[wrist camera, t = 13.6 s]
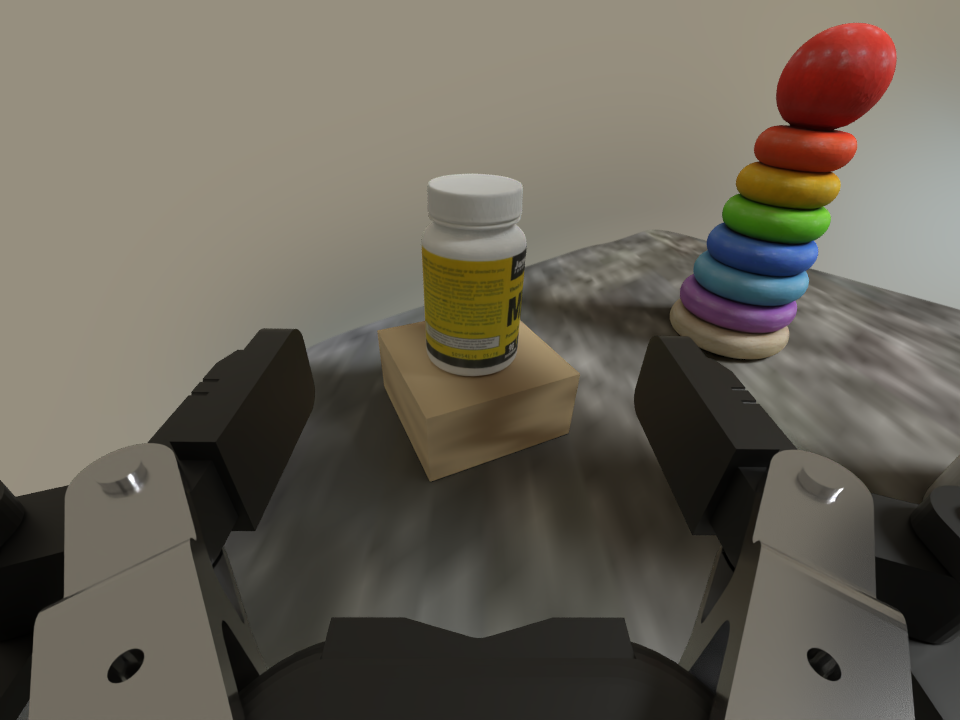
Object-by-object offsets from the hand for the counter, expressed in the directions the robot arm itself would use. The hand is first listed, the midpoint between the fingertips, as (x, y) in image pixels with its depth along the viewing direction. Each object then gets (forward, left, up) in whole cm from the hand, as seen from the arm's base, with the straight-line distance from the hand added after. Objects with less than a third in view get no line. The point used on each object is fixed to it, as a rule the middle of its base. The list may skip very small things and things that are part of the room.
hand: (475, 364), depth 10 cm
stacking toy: (-25, -10, -11) cm, 29 cm away
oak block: (-4, -10, -11) cm, 15 cm away
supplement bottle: (-4, -10, -7) cm, 13 cm away
